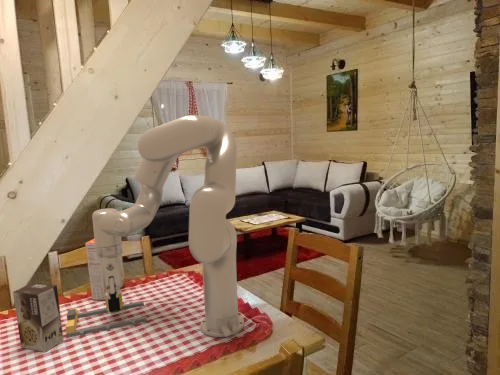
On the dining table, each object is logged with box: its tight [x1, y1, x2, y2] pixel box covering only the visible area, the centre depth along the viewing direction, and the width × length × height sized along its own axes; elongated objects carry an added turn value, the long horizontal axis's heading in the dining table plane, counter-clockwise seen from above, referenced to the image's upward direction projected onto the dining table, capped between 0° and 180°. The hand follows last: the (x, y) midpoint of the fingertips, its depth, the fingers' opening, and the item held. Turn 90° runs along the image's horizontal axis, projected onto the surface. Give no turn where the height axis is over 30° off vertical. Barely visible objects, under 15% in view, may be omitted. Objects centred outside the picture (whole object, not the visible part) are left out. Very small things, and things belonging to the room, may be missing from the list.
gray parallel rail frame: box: [65, 300, 148, 339], centre depth 114 cm, size 15×22×1 cm
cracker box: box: [84, 238, 126, 301], centre depth 133 cm, size 14×6×21 cm, turn 172°
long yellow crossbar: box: [65, 307, 79, 334], centre depth 110 cm, size 12×2×4 cm, turn 21°
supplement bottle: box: [105, 286, 124, 315], centre depth 113 cm, size 5×5×8 cm
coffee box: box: [12, 282, 64, 353], centre depth 100 cm, size 9×6×16 cm
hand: (114, 306), depth 114 cm, fingers closed on supplement bottle, 4 cm apart
